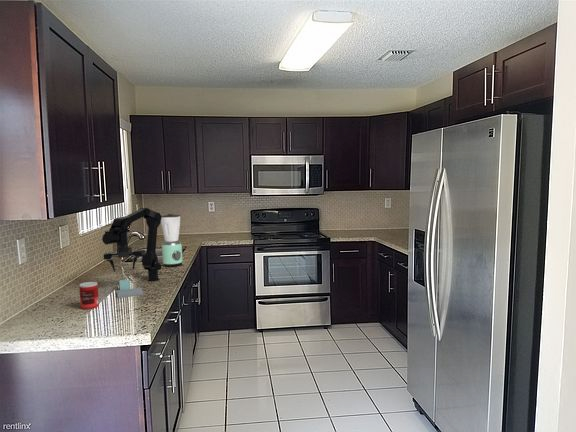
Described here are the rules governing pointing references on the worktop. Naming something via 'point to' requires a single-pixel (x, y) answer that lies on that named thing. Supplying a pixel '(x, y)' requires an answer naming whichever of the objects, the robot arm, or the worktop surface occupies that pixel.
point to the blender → (171, 240)
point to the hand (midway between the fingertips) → (124, 270)
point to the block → (124, 284)
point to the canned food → (89, 295)
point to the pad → (129, 292)
